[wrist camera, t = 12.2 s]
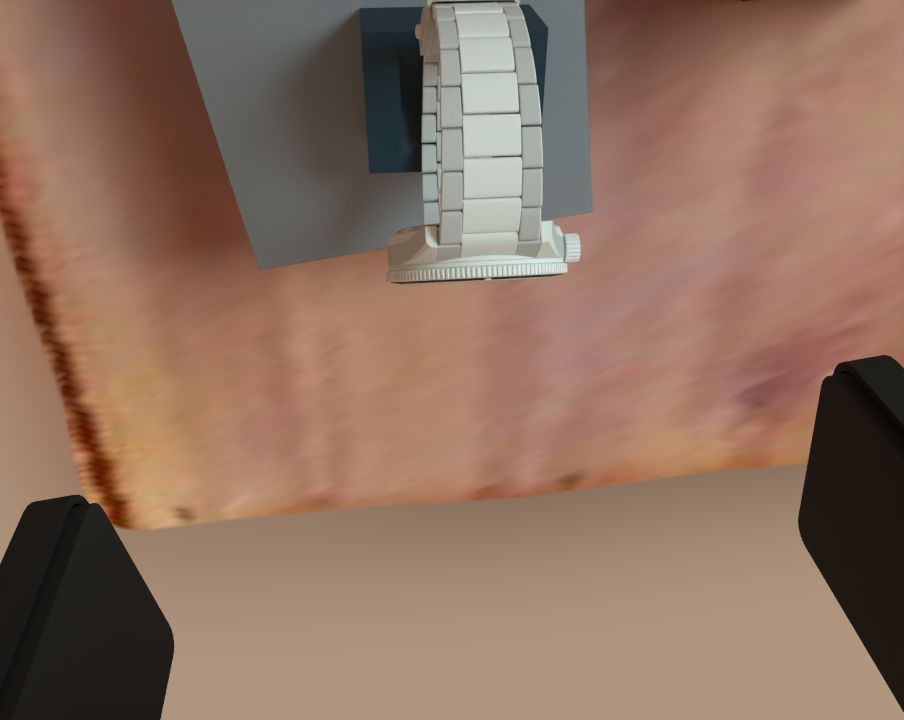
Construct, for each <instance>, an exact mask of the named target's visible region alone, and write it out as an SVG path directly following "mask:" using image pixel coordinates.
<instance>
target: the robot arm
mask: <svg viewBox="0 0 904 720" xmlns="http://www.w3.org/2000/svg"><path fill="white" fill-rule="evenodd" d="M798 517H799V518H798V525H799V531H800V535H801V538H802V541H803V542H804V545H805V547H806V548H807V550H808V552H809V553H810V555H811V557H812V559H813V560H814V562H815V564H816V565H817V567H818V569H819V570H820V572H821V574H822V575H823V577H824V579H825V580H826V582H827V584H828V585H829V587H830V589H831V590H832V592H833V594H834V596H835V597H836V599H837V601H838V602H839V604H840V606H841V607H842V609H843V611H844V612H845V614H846V616H847V618H848V619H849V621H850V623H851V624H852V626H853V627H854V629H855V631H856V633H857V634H858V636H859V638H860V639H861V641H862V643H863V644H864V646H865V648H866V650H867V651H868V653H869V655H870V656H871V658H872V660H873V661H874V663H875V664H876V666H877V668H878V670H879V671H880V673H881V675H882V676H883V678H884V680H885V681H886V683H887V685H888V686H889V688H890V690H891V692H892V693H893V695H894V697H895V698H896V700H897V701H898V703H899V705H900V707H901V708H902V710H903V712H904V368H903V367H902V366H901V365H900V364H899V363H898V362H897V361H896V360H895V359H893V358H892V357H891V356H887V355H882V356H876V357H870V358H864V359H859V360H853V361H847V362H842V363H839V364H838V365H837V367H836V368H835V370H834V373H833V376H828V377H825V379H824V380H823V382H822V386H821V391H820V397H819V403H818V408H817V414H816V420H815V425H814V431H813V437H812V442H811V448H810V454H809V459H808V465H807V471H806V477H805V482H804V488H803V494H802V500H801V506H800V511H799V516H798ZM173 653H174V640H173V634H172V630H171V628H170V625H169V623H168V622H167V620H166V618H165V616H164V615H163V613H162V611H161V610H160V608H159V606H158V604H157V602H156V601H155V599H154V597H153V596H152V594H151V592H150V590H149V589H148V587H147V585H146V583H145V582H144V580H143V578H142V577H141V575H140V573H139V571H138V569H137V568H136V566H135V564H134V562H133V561H132V559H131V557H130V555H129V554H128V552H127V550H126V549H125V547H124V545H123V543H122V541H121V540H120V538H119V536H118V534H117V533H116V531H115V529H114V527H113V526H112V524H111V522H110V520H109V519H108V517H107V515H106V514H105V512H104V510H103V509H102V507H101V506H100V505H99V504H97V503H91V504H89V503H88V502H87V500H86V499H85V498H84V497H82V496H81V495H71V496H65V497H59V498H54V499H48V500H43V501H36V502H32V503H31V504H30V505H28V506H27V508H26V509H25V511H24V512H23V514H22V517H21V519H20V521H19V523H18V526H17V528H16V530H15V532H14V535H13V537H12V539H11V541H10V543H9V546H8V548H7V550H6V552H5V555H4V557H3V559H2V562H1V564H0V720H160V719H161V714H162V709H163V704H164V699H165V694H166V689H167V683H168V679H169V674H170V669H171V664H172V659H173Z"/></svg>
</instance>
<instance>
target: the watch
mask: <svg viewBox="0 0 904 720" xmlns="http://www.w3.org/2000/svg"><path fill="white" fill-rule="evenodd" d="M360 26H361V44H362V60H363V76H364V93H365V109H366V125H367V141H368V157H369V173H370V174H379V173H404V172H422V174H423V175H422V180H423V203H424V225H419V226H412V227H407V228H403V229H401V230H399V231H397V232H396V233H394V234H392V235H391V236H390V238H389V242H388V262H389V267H390V272H387V273H386V274H387V281H388V282H391V283H399V284H407V285H414V284H437V283H458V282H478V281H498V280H517V279H534V278H547V277H551V276H556V275H561V274H564V273H566V272H567V264H566V263H563V262H578V261H579V258H580V239H579V236H578V234H563V233H561V229H560V227H559V226H557V225H555V224H554V223H553V221H544V220H541V207H540V206H542V169H541V168H540V167H543V151H542V133H541V131H542V116H543V102H544V87H545V72H546V57H547V43H548V27H547V25H546V24H545V23H544V22H543V21H542V19H541V18H540V17H539V16H538V14H537V13H536V12H535V11H534V9H533V8H532V7H531V6H530V4H524V5H520V0H428V1H427V2H426V3H425V5H424V7H387V8H360ZM429 173H436V174H429ZM438 192H441V193H438Z"/></svg>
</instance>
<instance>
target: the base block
mask: <svg viewBox="0 0 904 720" xmlns="http://www.w3.org/2000/svg"><path fill="white" fill-rule="evenodd" d="M171 1H172V4H173V7H174V10H175V13H176V17H177V20H178V23H179V26H180V29H181V32H182V35H183V38H184V41H185V44H186V47H187V51H188V54H189V57H190V60H191V63H192V66H193V69H194V72H195V75H196V78H197V81H198V84H199V88H200V91H201V94H202V97H203V100H204V103H205V106H206V109H207V112H208V115H209V118H210V121H211V125H212V128H213V131H214V134H215V137H216V140H217V143H218V146H219V149H220V152H221V155H222V159H223V162H224V165H225V168H226V171H227V174H228V177H229V180H230V183H231V186H232V189H233V192H234V196H235V199H236V202H237V205H238V208H239V211H240V214H241V217H242V220H243V223H244V226H245V229H246V233H247V236H248V239H249V242H250V245H251V248H252V251H253V254H254V257H255V260H256V263H257V266H258V270H262V269H268V268H274V267H279V266H285V265H291V264H297V263H302V262H308V261H314V260H320V259H325V258H331V257H337V256H343V255H348V254H354V253H360V252H366V251H371V250H377V249H383V248H388V242H389V238H390V236H391V235H392V234H394V233H396V232H397V231H399V230H401V229H403V228H407V227H412V226H419V225H424V203H423V180H422V175H423V174H422V172H404V173H379V174H370V173H369V157H368V141H367V125H366V109H365V93H364V76H363V60H362V44H361V26H360V8H387V7H424V5H425V3H426V2H427V1H428V0H171ZM524 4H530V6H531V7H532V8H533V9H534V11H535V12H536V13H537V14H538V16H539V17H540V18H541V19H542V21H543V22H544V23H545V24H546V25H547V27H548V43H547V57H546V72H545V87H544V102H543V116H542V131H541V133H542V151H543V167H540V168H541V169H542V206H540V207H541V220H549V219H555V218H561V217H567V216H572V215H578V214H584V213H590V212H592V190H591V163H590V137H589V110H588V84H587V57H586V31H585V4H584V0H520V5H524ZM429 174H436V173H429ZM438 193H441V192H438Z"/></svg>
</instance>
